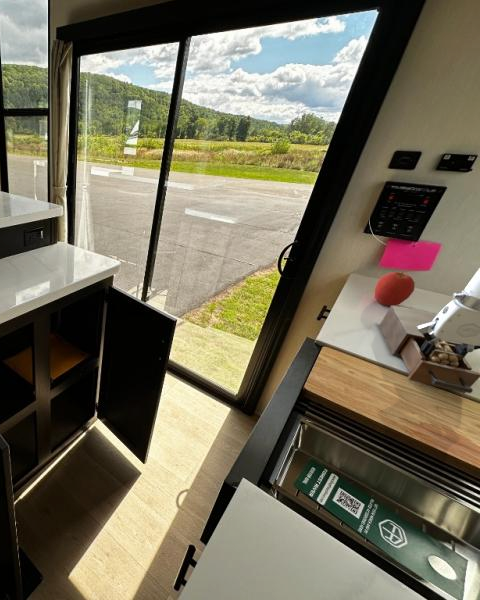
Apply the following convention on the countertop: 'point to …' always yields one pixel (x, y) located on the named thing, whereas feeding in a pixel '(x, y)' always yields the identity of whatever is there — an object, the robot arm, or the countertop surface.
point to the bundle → (445, 354)
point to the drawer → (436, 369)
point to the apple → (394, 289)
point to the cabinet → (405, 327)
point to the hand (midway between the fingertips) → (439, 355)
